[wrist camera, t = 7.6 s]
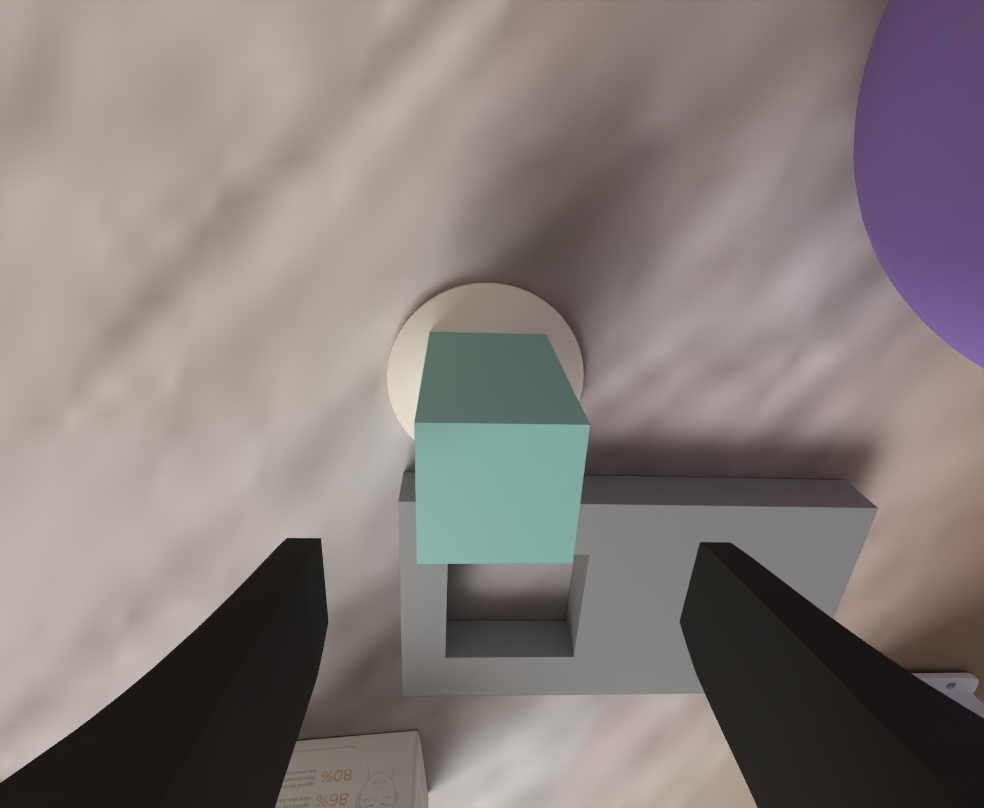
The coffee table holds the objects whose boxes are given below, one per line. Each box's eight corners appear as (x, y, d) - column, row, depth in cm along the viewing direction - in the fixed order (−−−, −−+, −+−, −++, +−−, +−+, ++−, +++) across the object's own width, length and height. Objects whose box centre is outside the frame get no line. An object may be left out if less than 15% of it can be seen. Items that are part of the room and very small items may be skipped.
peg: (546, 334, 19) (590, 424, 13) (537, 437, 21) (572, 563, 14) (429, 331, 19) (413, 422, 12) (430, 435, 20) (416, 563, 14)
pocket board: (844, 479, 23) (877, 507, 21) (779, 655, 27) (802, 692, 25) (403, 472, 21) (398, 501, 20) (406, 658, 25) (402, 696, 24)
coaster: (593, 286, 19) (595, 288, 18) (570, 464, 22) (572, 469, 21) (386, 277, 18) (384, 280, 18) (390, 460, 21) (389, 465, 21)
